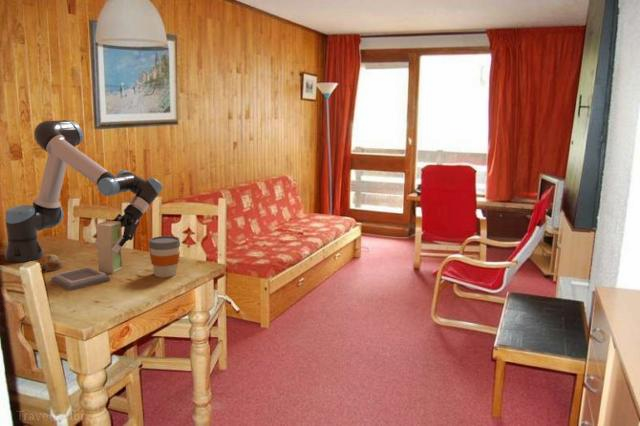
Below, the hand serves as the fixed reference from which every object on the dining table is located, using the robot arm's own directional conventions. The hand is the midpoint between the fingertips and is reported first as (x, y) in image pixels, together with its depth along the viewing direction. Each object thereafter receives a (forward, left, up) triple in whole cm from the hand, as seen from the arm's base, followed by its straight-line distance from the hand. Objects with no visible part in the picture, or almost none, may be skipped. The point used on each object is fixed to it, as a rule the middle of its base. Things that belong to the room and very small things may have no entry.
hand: (105, 248), depth 214 cm
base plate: (+3, -13, -10) cm, 17 cm away
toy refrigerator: (0, +2, -10) cm, 11 cm away
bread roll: (-22, -14, -11) cm, 28 cm away
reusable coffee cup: (+20, +15, -10) cm, 27 cm away
